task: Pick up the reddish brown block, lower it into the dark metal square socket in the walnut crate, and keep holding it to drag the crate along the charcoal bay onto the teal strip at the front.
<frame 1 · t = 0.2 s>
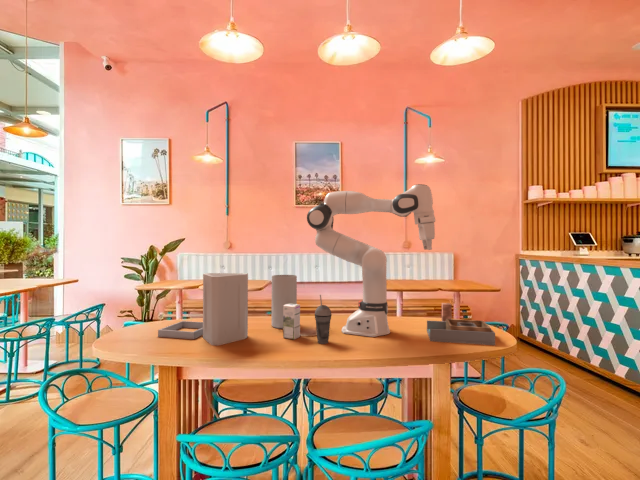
hand: (427, 249, 157), 39 cm above the table, tool pointing down, fingers open, 8 cm apart
gray square frame: (187, 332, 159), on the table
syrup box: (291, 337, 152), on the table
beverage cup: (322, 342, 145), on the table
cylinder vase: (284, 326, 173), on the table
bay: (458, 337, 153), on the table
crate: (467, 329, 152), point 4 cm above the table, slide at 0.0 cm
reddish brown block: (446, 328, 169), on the table
paper bag: (221, 340, 148), on the table
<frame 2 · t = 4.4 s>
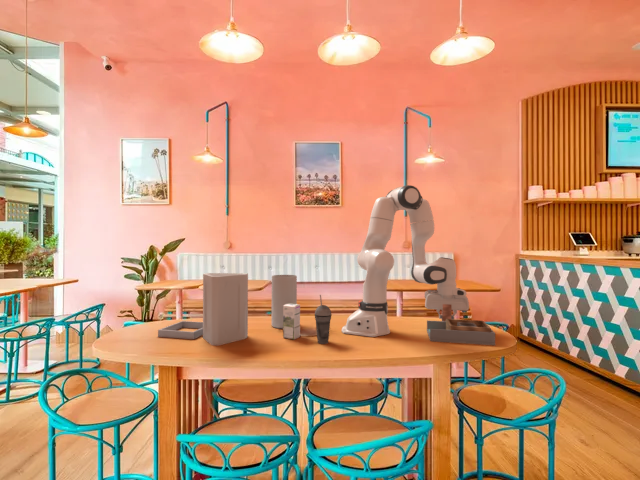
hand: (446, 318, 169), 5 cm above the table, tool pointing down, fingers closed on reddish brown block, 4 cm apart
reddish brown block: (446, 328, 169), on the table, touching gripper
everything else where it was.
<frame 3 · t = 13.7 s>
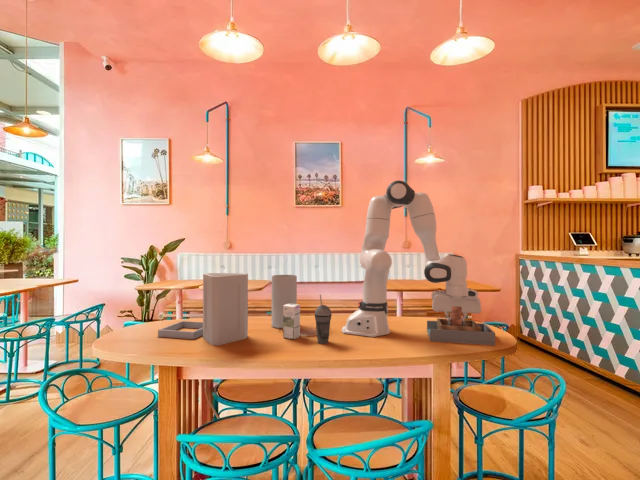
hand: (455, 322, 153), 7 cm above the table, tool pointing down, fingers closed on reddish brown block, 4 cm apart
crate: (457, 328, 153), point 4 cm above the table, slide at 3.9 cm, touching reddish brown block
reddish brown block: (455, 332, 153), point 2 cm above the table, touching crate, gripper
everything else where it was.
when the fingers open (7 cm above the table, at t = 15.8 s): reddish brown block stays where it is, resting on crate.
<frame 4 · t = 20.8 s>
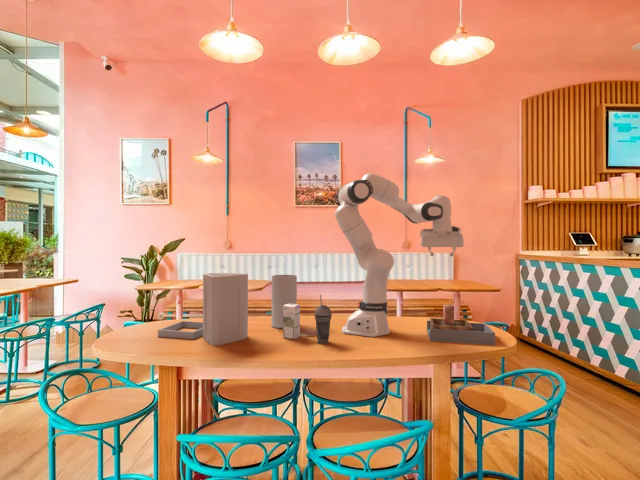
hand: (441, 256, 172), 35 cm above the table, tool pointing down, fingers open, 8 cm apart
crate: (450, 328, 154), point 4 cm above the table, slide at 7.0 cm, touching reddish brown block
reddish brown block: (448, 332, 154), point 2 cm above the table, touching crate
everything else where it was.
at the end: crate slide at 7.0 cm; reddish brown block 0.7 cm from the target spot, point 2.0 cm above the table; reddish brown block tilted 0° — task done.
